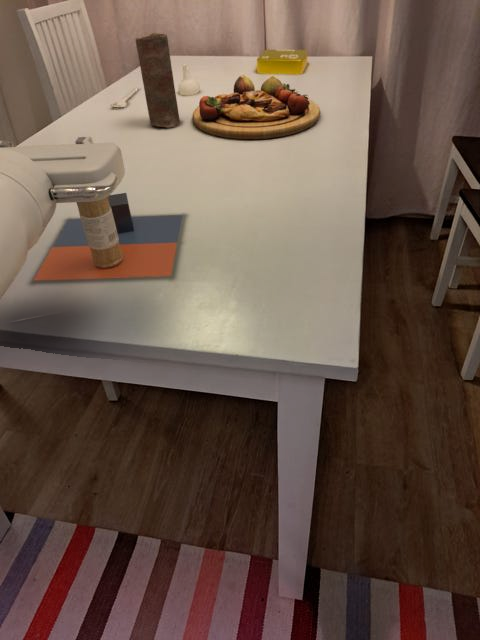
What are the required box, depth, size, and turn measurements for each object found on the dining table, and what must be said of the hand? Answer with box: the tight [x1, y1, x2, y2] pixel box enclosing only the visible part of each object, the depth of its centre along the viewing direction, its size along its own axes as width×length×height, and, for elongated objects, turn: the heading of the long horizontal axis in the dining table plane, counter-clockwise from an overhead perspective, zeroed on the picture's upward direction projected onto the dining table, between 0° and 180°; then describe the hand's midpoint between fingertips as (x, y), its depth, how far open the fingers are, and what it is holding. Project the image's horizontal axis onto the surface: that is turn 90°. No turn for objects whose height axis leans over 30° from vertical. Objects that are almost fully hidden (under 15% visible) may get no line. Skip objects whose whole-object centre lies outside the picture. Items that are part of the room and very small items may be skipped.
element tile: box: [256, 48, 309, 75], centre depth 153 cm, size 15×15×5 cm
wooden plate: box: [192, 74, 321, 140], centre depth 115 cm, size 32×32×8 cm
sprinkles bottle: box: [75, 197, 123, 268], centre depth 66 cm, size 5×5×14 cm
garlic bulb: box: [177, 63, 201, 97], centre depth 135 cm, size 6×6×8 cm
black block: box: [108, 192, 134, 234], centre depth 76 cm, size 4×4×5 cm
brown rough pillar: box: [135, 32, 181, 128], centre depth 110 cm, size 8×7×20 cm
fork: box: [110, 87, 139, 108], centre depth 134 cm, size 3×20×2 cm, turn 172°
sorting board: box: [33, 214, 183, 282], centre depth 74 cm, size 20×18×1 cm
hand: (47, 145), depth 56 cm, fingers open, 8 cm apart
